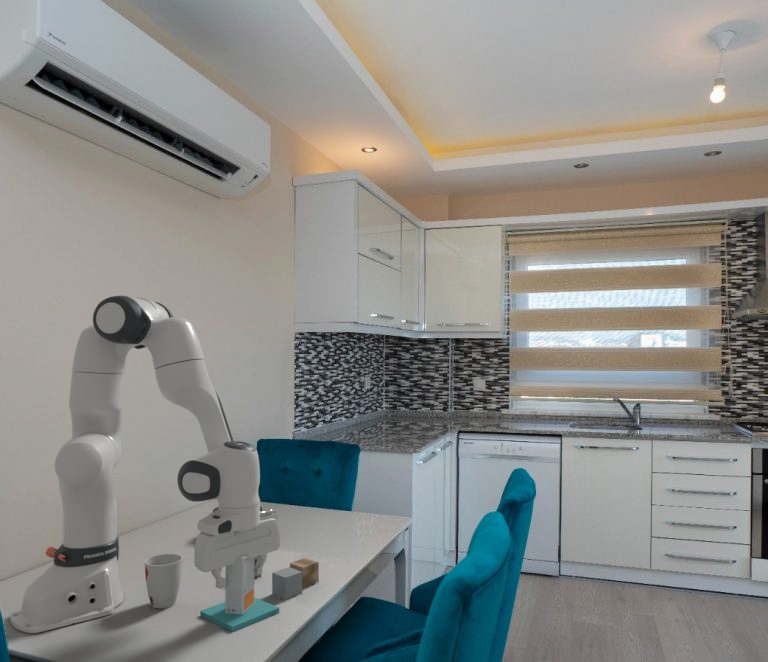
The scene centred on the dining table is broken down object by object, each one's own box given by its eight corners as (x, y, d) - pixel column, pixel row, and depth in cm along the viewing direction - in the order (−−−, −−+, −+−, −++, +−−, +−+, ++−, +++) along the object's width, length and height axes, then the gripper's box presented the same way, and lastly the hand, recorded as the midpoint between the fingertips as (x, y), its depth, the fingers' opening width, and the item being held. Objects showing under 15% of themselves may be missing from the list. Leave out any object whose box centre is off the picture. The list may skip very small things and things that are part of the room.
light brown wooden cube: (303, 588, 144) (303, 567, 144) (290, 583, 148) (289, 563, 148) (318, 582, 148) (318, 562, 148) (305, 577, 151) (305, 557, 152)
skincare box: (243, 615, 127) (243, 558, 127) (224, 614, 128) (224, 557, 128) (255, 604, 133) (255, 549, 133) (237, 602, 134) (237, 548, 134)
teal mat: (232, 631, 122) (232, 626, 122) (200, 615, 130) (200, 610, 130) (279, 612, 131) (279, 607, 131) (246, 598, 139) (246, 594, 139)
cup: (153, 596, 140) (153, 553, 141) (187, 596, 140) (187, 553, 140) (138, 611, 132) (138, 565, 133) (174, 611, 132) (174, 565, 132)
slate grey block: (285, 599, 138) (285, 577, 138) (272, 594, 141) (272, 572, 141) (302, 593, 141) (302, 571, 142) (289, 588, 145) (288, 567, 145)
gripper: (268, 505, 141) (269, 564, 140) (190, 524, 126) (190, 591, 125) (286, 509, 137) (286, 571, 136) (206, 529, 121) (206, 599, 121)
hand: (239, 580), depth 130 cm, fingers open, 8 cm apart
